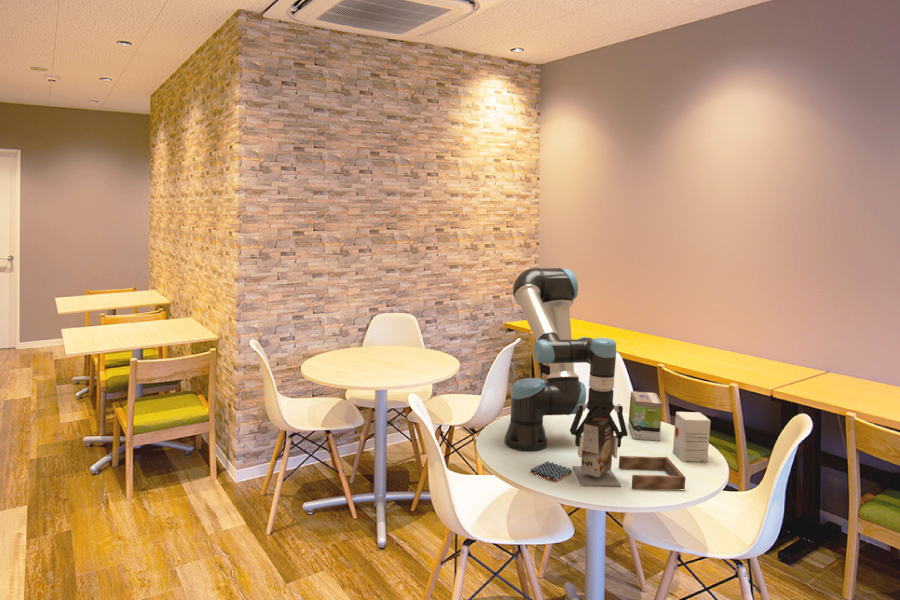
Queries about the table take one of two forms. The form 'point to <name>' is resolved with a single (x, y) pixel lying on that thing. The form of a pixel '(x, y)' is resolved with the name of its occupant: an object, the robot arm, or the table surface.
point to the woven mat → (551, 471)
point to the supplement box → (691, 436)
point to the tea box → (645, 416)
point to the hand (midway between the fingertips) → (597, 456)
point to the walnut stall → (653, 481)
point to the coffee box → (597, 447)
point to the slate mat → (596, 479)
